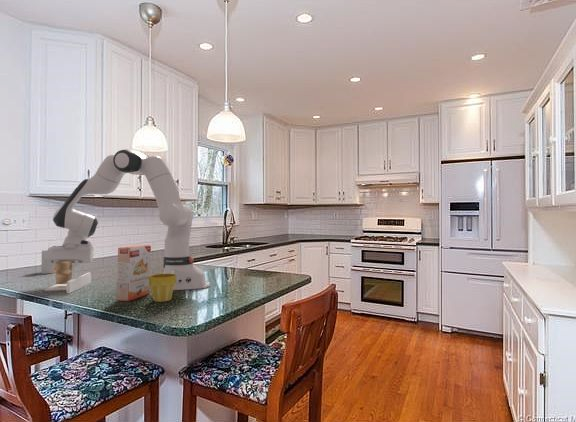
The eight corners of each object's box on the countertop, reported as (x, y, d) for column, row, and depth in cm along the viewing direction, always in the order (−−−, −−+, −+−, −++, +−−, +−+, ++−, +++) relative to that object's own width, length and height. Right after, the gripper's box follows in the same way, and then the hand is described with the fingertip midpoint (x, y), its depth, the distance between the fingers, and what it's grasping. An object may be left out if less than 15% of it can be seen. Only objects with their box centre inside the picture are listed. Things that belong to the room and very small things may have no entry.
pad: (82, 284, 166) (82, 283, 166) (71, 290, 154) (71, 288, 154) (56, 285, 164) (56, 284, 164) (43, 290, 152) (43, 289, 152)
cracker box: (129, 301, 134) (130, 247, 134) (115, 301, 135) (116, 247, 136) (150, 294, 148) (151, 244, 148) (138, 293, 149) (138, 244, 149)
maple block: (71, 282, 161) (72, 260, 161) (68, 283, 157) (68, 261, 157) (60, 282, 160) (60, 260, 160) (55, 284, 156) (56, 262, 157)
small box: (53, 273, 196) (54, 250, 196) (40, 273, 195) (41, 250, 195) (59, 271, 204) (60, 248, 204) (47, 271, 203) (47, 249, 203)
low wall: (91, 282, 171) (91, 272, 171) (69, 293, 147) (69, 281, 147) (88, 282, 171) (88, 272, 171) (66, 293, 147) (66, 281, 147)
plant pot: (153, 296, 143) (153, 273, 143) (178, 296, 144) (179, 273, 144) (144, 303, 132) (144, 277, 133) (172, 303, 133) (172, 277, 133)
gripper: (47, 242, 164) (35, 265, 154) (94, 241, 168) (85, 264, 158) (51, 250, 168) (40, 274, 159) (97, 250, 172) (89, 273, 162)
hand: (63, 269), depth 158 cm, fingers closed on maple block, 5 cm apart
